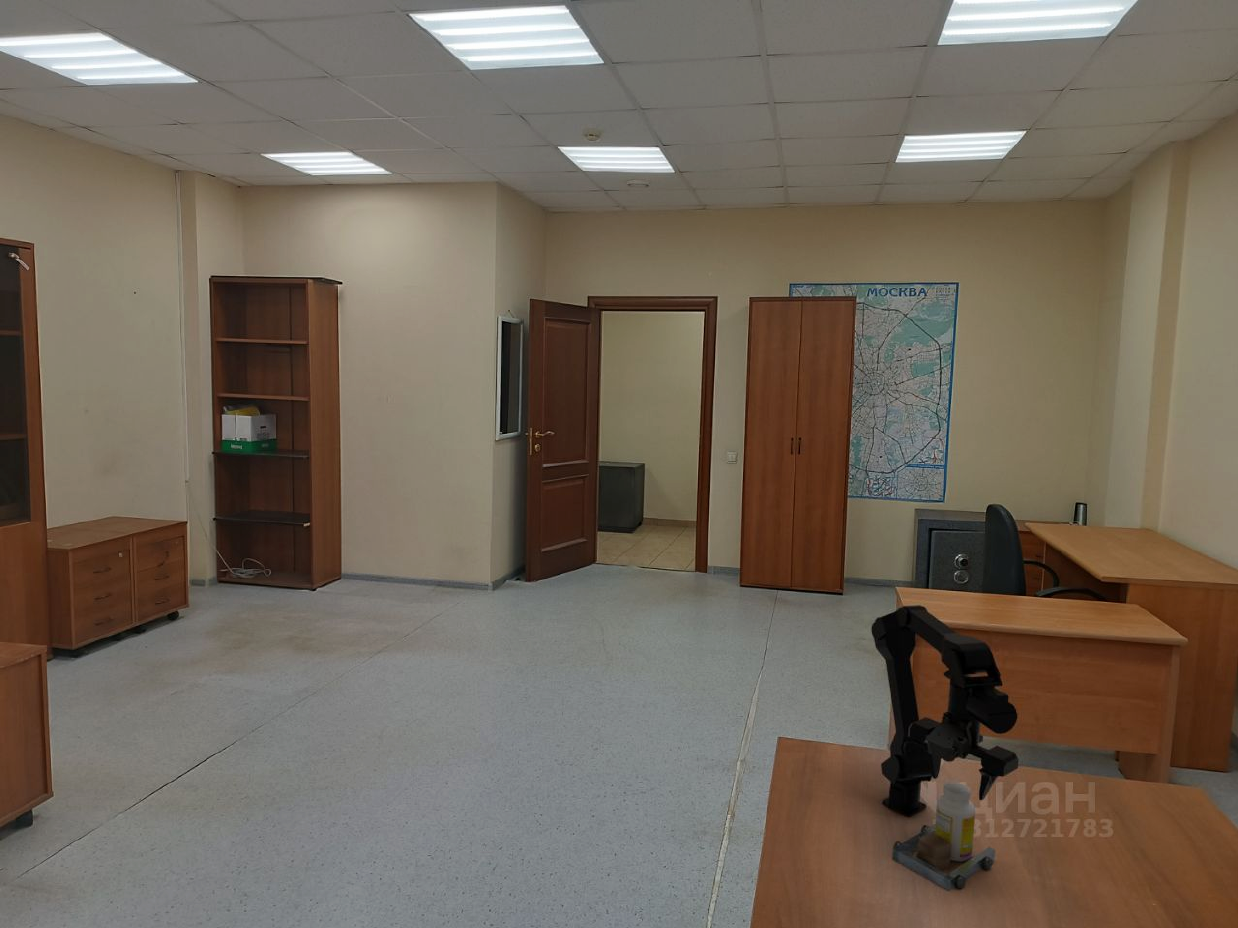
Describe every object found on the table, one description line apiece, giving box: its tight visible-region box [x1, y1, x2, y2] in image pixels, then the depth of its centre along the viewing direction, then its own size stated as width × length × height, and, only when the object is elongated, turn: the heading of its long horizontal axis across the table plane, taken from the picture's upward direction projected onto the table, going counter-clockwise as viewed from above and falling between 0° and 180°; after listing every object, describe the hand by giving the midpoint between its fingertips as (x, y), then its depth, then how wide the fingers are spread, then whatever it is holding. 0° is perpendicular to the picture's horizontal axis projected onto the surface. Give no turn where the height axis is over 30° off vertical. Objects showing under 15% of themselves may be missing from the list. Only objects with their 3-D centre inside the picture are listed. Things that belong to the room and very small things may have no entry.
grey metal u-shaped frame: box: [891, 823, 996, 892], centre depth 154 cm, size 15×13×2 cm
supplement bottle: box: [934, 781, 976, 862], centre depth 155 cm, size 7×7×13 cm
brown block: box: [916, 832, 951, 872], centre depth 151 cm, size 4×4×5 cm
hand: (957, 788), depth 154 cm, fingers open, 9 cm apart
